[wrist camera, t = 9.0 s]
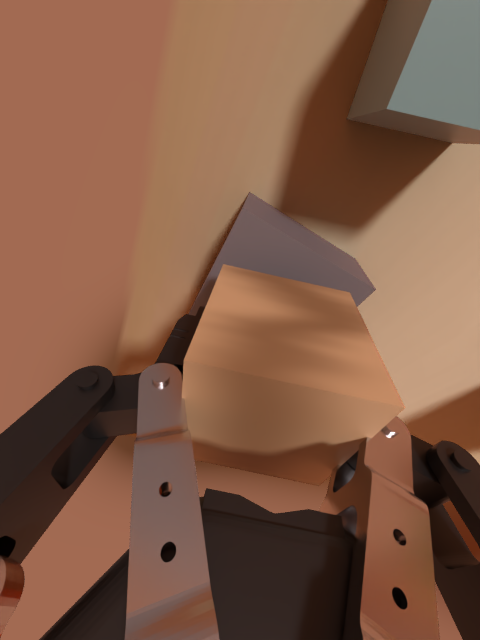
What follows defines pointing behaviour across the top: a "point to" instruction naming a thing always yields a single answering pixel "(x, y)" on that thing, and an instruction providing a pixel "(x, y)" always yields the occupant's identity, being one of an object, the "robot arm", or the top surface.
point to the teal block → (424, 71)
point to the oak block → (283, 378)
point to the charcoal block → (284, 254)
